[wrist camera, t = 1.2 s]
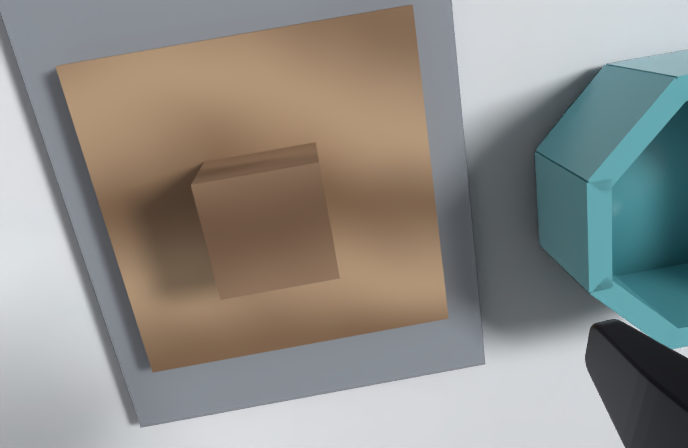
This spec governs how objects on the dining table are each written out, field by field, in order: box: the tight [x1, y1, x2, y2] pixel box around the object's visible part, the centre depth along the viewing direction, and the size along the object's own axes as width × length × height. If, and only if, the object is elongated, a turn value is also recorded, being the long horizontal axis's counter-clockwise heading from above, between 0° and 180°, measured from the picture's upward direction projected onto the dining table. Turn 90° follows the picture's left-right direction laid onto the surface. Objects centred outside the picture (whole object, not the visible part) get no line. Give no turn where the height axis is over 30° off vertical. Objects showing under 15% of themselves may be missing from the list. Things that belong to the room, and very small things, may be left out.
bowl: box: [535, 50, 688, 349], centre depth 22 cm, size 10×10×5 cm
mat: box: [0, 0, 485, 427], centre depth 23 cm, size 18×15×1 cm
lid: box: [55, 5, 449, 373], centre depth 21 cm, size 12×12×4 cm
